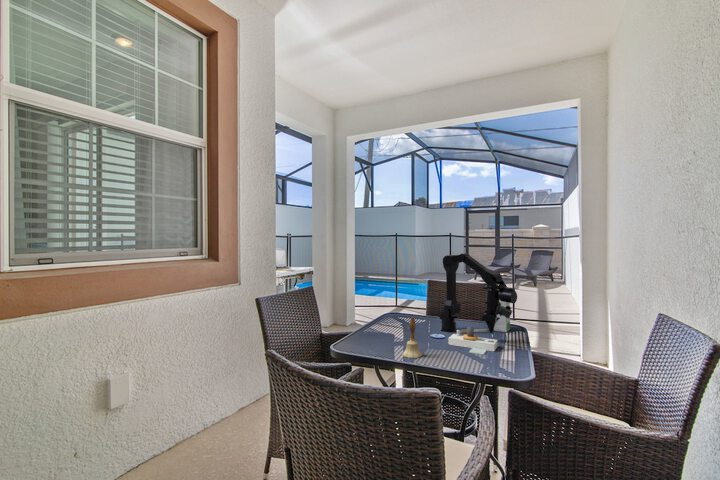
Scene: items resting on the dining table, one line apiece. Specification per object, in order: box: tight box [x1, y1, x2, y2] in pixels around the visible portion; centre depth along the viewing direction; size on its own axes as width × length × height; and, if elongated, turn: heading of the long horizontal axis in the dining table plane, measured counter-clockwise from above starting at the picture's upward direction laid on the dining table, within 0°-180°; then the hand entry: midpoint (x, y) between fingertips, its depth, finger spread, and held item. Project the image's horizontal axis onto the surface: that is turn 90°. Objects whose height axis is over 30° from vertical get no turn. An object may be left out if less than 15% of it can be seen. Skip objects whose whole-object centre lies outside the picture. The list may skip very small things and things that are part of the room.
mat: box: [468, 348, 488, 356], centre depth 151 cm, size 6×6×1 cm
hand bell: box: [402, 316, 423, 359], centre depth 148 cm, size 8×8×16 cm
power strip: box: [448, 332, 498, 352], centre depth 160 cm, size 20×8×4 cm, turn 59°
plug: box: [462, 326, 479, 341], centre depth 160 cm, size 6×6×8 cm
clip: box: [456, 328, 490, 334], centre depth 166 cm, size 17×2×2 cm, turn 95°
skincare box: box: [493, 300, 511, 333], centre depth 185 cm, size 8×7×16 cm
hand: (491, 332), depth 165 cm, fingers closed
